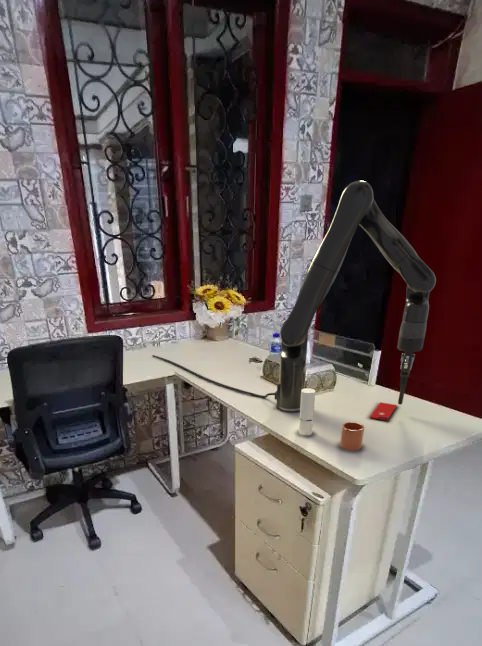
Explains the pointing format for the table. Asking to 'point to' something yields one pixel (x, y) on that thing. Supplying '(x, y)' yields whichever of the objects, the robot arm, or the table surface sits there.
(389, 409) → the electronic device
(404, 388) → the stylus
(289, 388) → the robot arm
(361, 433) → the pen cup
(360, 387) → the table surface
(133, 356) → the table surface
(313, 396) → the tube
